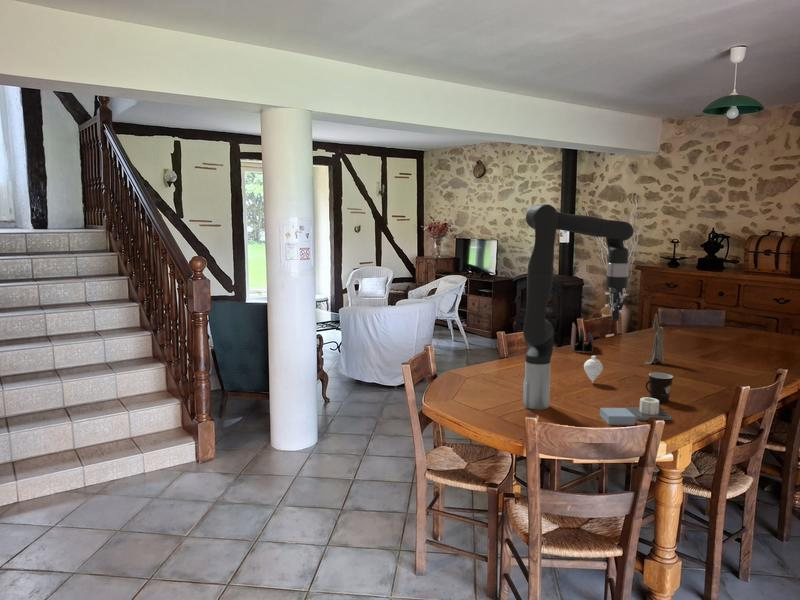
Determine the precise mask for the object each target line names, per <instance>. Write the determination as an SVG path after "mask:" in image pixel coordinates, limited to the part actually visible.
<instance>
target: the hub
mask: <svg viewBox="0 0 800 600" xmlns="http://www.w3.org/2000/svg"><path fill="white" fill-rule="evenodd" d="M626 409H627V410H628V411H630V412H631V413H632V414H633V415H634V416H635V421H647V420H648V418H650V417H660V418H662V419H664V420H665V421H666V420H667V421H668V420H673V417H672V415H670V414H669V413H668V412H667V411H665V410H664V409H662V408H661V407H660V406H659V413H658V414H655V415H650V414H644V413H641V412H640V411H639V409H640V406H637V407H636V406H627V407H626ZM667 421H666V422H667Z"/></svg>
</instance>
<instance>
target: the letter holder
mask: <svg viewBox="0 0 800 600" xmlns="http://www.w3.org/2000/svg"><path fill="white" fill-rule="evenodd" d="M575 323H576V322H572V327H571V339H570V346H571V345H572V346H571V349H572V348H573V349H572V352H573V353H574V352H588V353H587V354H594V338H593V336H592V334H591V332H588V333H587V339H588V340H587V343H585V332H584V329H583V328H582V327H580V328H579V341H578V343H576V339H577V326H576V324H575ZM575 344H577V345H575Z"/></svg>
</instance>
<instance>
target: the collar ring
mask: <svg viewBox="0 0 800 600" xmlns="http://www.w3.org/2000/svg"><path fill="white" fill-rule="evenodd" d="M639 407H640V409H639V411H640V412H641V413H644V414H650V415H655V414H658V413H659V407H660V403H659V400H657V399H655V398H650V397H647V396H646V397H645V396H644V397H640V399H639Z"/></svg>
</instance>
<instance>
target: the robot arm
mask: <svg viewBox="0 0 800 600" xmlns="http://www.w3.org/2000/svg"><path fill="white" fill-rule="evenodd" d="M525 222H526V224H527V225H528V226H529V227H530V228H531V229H532V230H534V232H535V233H534V246H533V249H532V252H531V255H530V258H529V260H528V264H527V269H526V270H527V272H526V275H527V276H526V306H525V307H526V309H525V315H524V322H523V326H522V327H523V328H522V332H523V333H522V334H523V338H524V340H525V341H526V343H527V344H528V349H527V351H526V353H525V360H524V361H525V362H524V379H523V380H522V381H523V382H522V384H523V385H522V386H523V387H522V405H523V406H524V408H525V409H531V410H538V411H539V410H540V411H541V410H546V409H548V408H549V407H550V383H551V362H552V361H551V358H552V356H553V353H554V352H553V351H554V338H555V331H554V326H553V324H552V322H551V321H549V320H548V319H547V318H546V310H547V305H548V302H549V299H550V295H551V293H552V289H553V284H554V283H553V282H554V260H555V259H554V258H555V243H556V242H555V240H556V236H557V235H556V234H557V230H558V231H565V232H570V233H574V234H579V235H584V236H588V237H594V238H595V237H596V238H605V241H606V248H607V251H608V254H607V266H606V277H605V278H606V281H605V287H607V289H610V290H609V294H607V297H606V298H607V301H608V305H609V309H610V310H611V317H610V318H611V321H614V322H619V316H620V311H622V309H623V307H624V304H625V302H626V298H625V297H624V293H623V289H627V288H628V280H629V250H628V248H626V247H625V246H624V241H628V240H630V239H631V238H632V237H633V235H634V227H633V225H632V224H631V223H629V222H627V221H623V220H616V219H615V220H613V219H606V218H603V217H598V216H591V215H585V214H583V215H582V214H571V213H564V212H559V211H557V210H556V208H555V207H554V206H553V205H552V204H536V205H533V206H531V207H530V208H529V209H528V210H527V211H526V214H525Z"/></svg>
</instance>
